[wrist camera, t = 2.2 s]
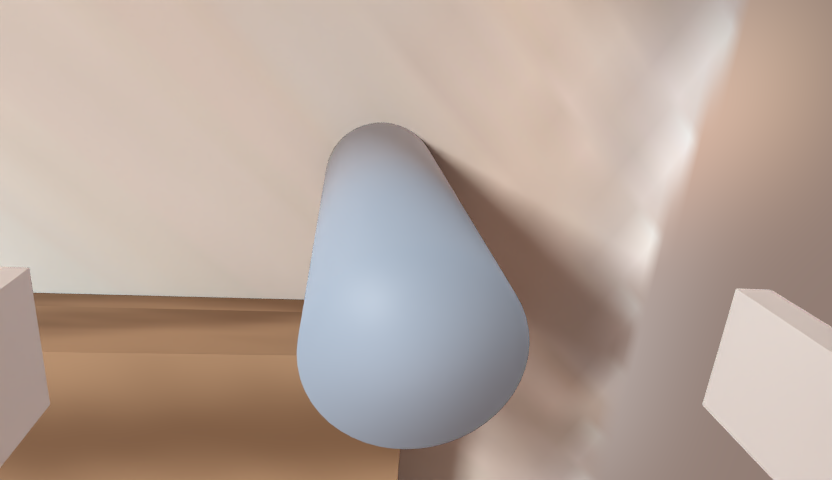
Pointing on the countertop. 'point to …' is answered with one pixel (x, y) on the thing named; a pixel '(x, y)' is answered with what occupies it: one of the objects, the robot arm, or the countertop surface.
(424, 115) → the countertop surface
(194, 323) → the board
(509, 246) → the countertop surface
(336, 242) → the dowel
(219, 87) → the countertop surface
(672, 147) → the countertop surface
